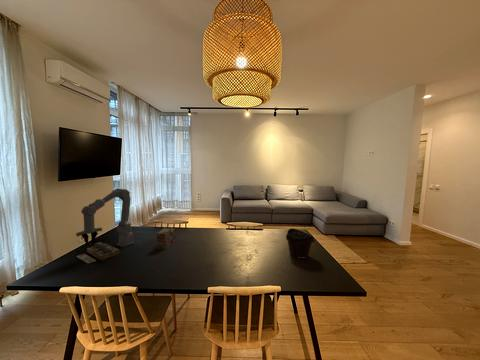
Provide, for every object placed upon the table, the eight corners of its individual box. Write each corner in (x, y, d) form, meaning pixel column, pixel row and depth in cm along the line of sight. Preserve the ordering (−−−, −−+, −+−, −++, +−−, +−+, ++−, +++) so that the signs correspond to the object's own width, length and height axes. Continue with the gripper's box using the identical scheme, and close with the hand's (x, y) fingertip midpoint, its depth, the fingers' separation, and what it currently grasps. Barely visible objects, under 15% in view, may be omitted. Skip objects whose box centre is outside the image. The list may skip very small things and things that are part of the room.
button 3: (109, 250, 150) (109, 245, 150) (112, 251, 148) (112, 247, 147) (102, 252, 146) (102, 247, 146) (106, 253, 144) (105, 249, 144)
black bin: (315, 262, 144) (316, 236, 143) (285, 259, 148) (286, 234, 147) (312, 252, 161) (313, 228, 160) (285, 249, 165) (286, 226, 164)
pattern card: (84, 254, 148) (84, 253, 148) (96, 260, 139) (96, 260, 139) (76, 256, 144) (76, 256, 144) (87, 263, 135) (87, 263, 135)
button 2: (104, 247, 153) (104, 243, 153) (108, 249, 151) (107, 245, 151) (98, 249, 150) (98, 245, 149) (101, 251, 147) (101, 247, 147)
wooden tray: (105, 247, 161) (105, 243, 161) (119, 253, 150) (119, 249, 150) (87, 252, 151) (87, 248, 151) (101, 260, 140) (100, 255, 140)
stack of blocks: (168, 238, 181) (168, 224, 180) (175, 239, 181) (175, 225, 180) (156, 249, 160) (156, 233, 159) (165, 249, 160) (165, 233, 159)
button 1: (100, 245, 157) (100, 241, 157) (103, 247, 154) (103, 243, 154) (93, 247, 153) (93, 243, 153) (96, 249, 151) (96, 245, 151)
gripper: (79, 227, 134) (79, 248, 135) (103, 222, 146) (104, 241, 147) (74, 225, 137) (75, 246, 139) (98, 220, 150) (99, 239, 151)
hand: (90, 243), depth 143 cm, fingers open, 3 cm apart
